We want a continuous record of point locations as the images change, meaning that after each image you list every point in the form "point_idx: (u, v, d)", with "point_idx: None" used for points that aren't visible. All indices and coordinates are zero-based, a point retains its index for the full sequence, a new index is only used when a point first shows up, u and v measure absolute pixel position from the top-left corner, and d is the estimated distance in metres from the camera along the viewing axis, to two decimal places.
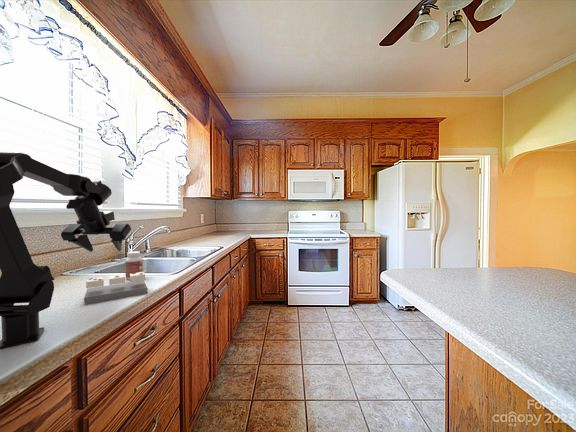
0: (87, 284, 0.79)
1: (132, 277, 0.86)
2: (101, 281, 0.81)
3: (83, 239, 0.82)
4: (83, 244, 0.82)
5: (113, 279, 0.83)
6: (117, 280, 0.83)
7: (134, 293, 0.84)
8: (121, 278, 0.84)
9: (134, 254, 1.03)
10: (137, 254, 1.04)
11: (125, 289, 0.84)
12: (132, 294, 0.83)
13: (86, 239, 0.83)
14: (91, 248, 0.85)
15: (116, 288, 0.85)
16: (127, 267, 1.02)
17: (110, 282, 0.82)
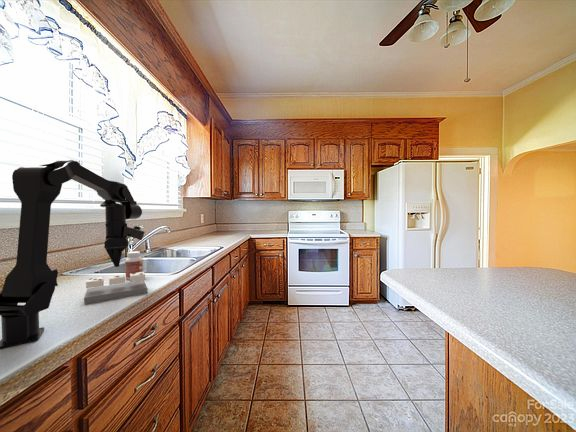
0: (87, 284, 0.79)
1: (132, 277, 0.86)
2: (101, 281, 0.81)
3: None
4: None
5: (113, 279, 0.83)
6: (117, 280, 0.83)
7: (134, 293, 0.84)
8: (121, 278, 0.84)
9: (134, 254, 1.03)
10: (137, 254, 1.04)
11: (125, 289, 0.84)
12: (132, 294, 0.83)
13: None
14: None
15: (116, 288, 0.85)
16: (127, 267, 1.02)
17: (110, 282, 0.82)
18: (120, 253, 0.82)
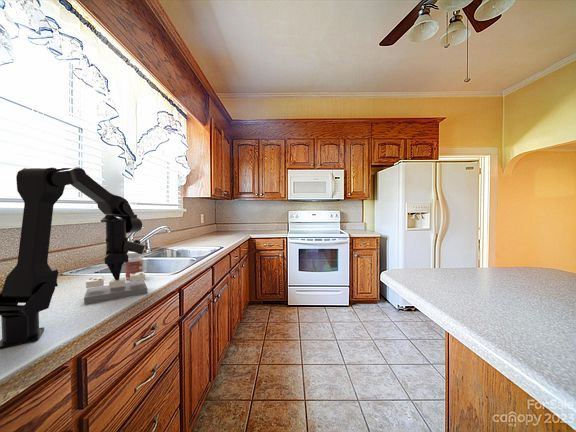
0: (87, 284, 0.79)
1: (132, 277, 0.86)
2: (101, 281, 0.81)
3: None
4: None
5: (113, 282, 0.83)
6: (117, 283, 0.83)
7: (134, 293, 0.84)
8: (121, 281, 0.84)
9: (134, 254, 1.03)
10: (137, 254, 1.04)
11: (125, 289, 0.84)
12: (132, 294, 0.83)
13: None
14: None
15: (116, 288, 0.85)
16: (127, 267, 1.02)
17: (110, 285, 0.82)
18: (120, 266, 0.84)
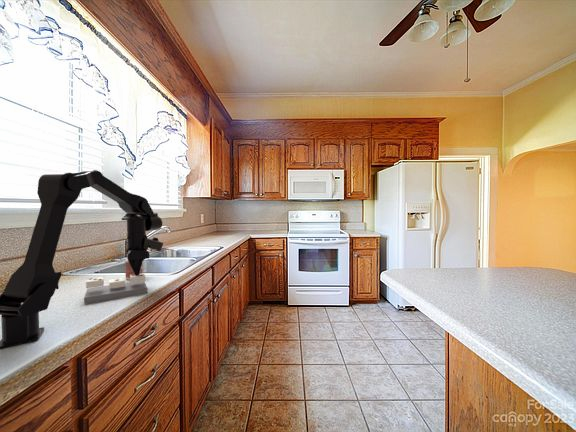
0: (87, 284, 0.79)
1: (132, 278, 0.86)
2: (101, 281, 0.81)
3: None
4: None
5: (113, 283, 0.83)
6: (117, 284, 0.83)
7: (134, 293, 0.84)
8: (121, 282, 0.84)
9: None
10: None
11: (125, 289, 0.84)
12: (132, 294, 0.83)
13: None
14: None
15: (116, 288, 0.85)
16: (127, 267, 1.02)
17: (110, 286, 0.82)
18: (140, 263, 0.88)
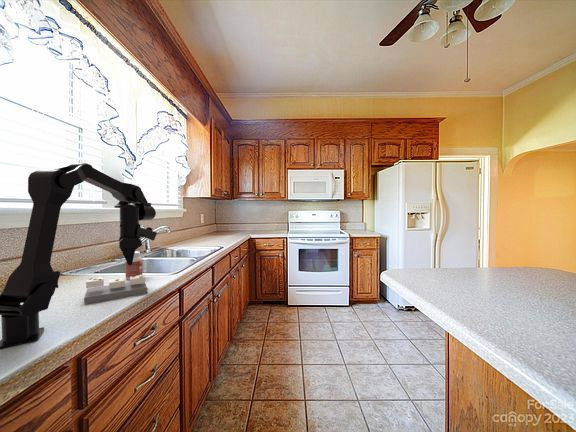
0: (87, 284, 0.79)
1: (132, 280, 0.86)
2: (101, 281, 0.81)
3: None
4: None
5: (113, 283, 0.83)
6: (117, 284, 0.83)
7: (134, 293, 0.84)
8: (121, 282, 0.84)
9: (134, 254, 1.03)
10: (137, 254, 1.04)
11: (125, 289, 0.84)
12: (132, 294, 0.83)
13: None
14: None
15: (116, 288, 0.85)
16: (127, 267, 1.02)
17: (110, 286, 0.82)
18: (133, 252, 0.86)
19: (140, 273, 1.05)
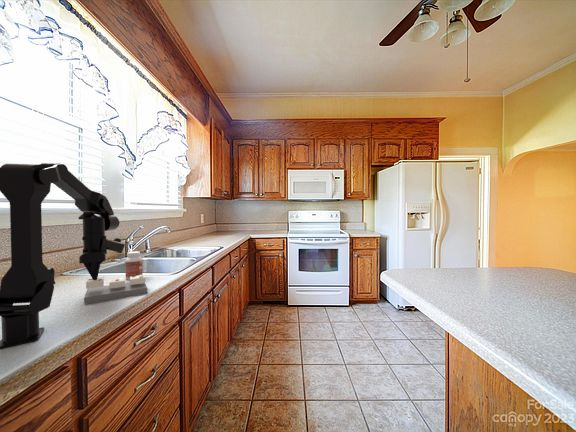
0: (87, 284, 0.79)
1: (132, 280, 0.86)
2: (101, 281, 0.81)
3: None
4: None
5: (113, 283, 0.83)
6: (117, 284, 0.83)
7: (134, 293, 0.84)
8: (121, 282, 0.84)
9: (134, 254, 1.03)
10: (137, 254, 1.04)
11: (125, 289, 0.84)
12: (132, 294, 0.83)
13: None
14: None
15: (116, 288, 0.85)
16: (127, 267, 1.02)
17: (110, 286, 0.82)
18: (98, 266, 0.81)
19: (140, 273, 1.05)
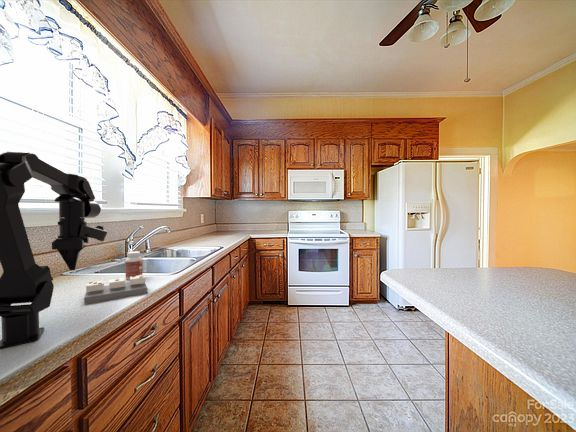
0: (87, 288, 0.79)
1: (132, 280, 0.86)
2: (101, 285, 0.81)
3: None
4: None
5: (113, 283, 0.83)
6: (117, 284, 0.83)
7: (134, 293, 0.84)
8: (121, 282, 0.84)
9: (134, 254, 1.03)
10: (137, 254, 1.04)
11: (125, 289, 0.84)
12: (132, 294, 0.83)
13: None
14: None
15: (116, 288, 0.85)
16: (127, 267, 1.02)
17: (110, 286, 0.82)
18: (76, 255, 0.72)
19: (140, 273, 1.05)
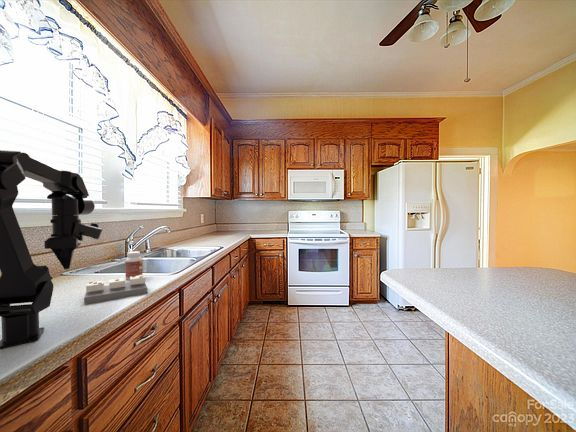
0: (87, 288, 0.79)
1: (132, 280, 0.86)
2: (101, 285, 0.81)
3: None
4: None
5: (113, 283, 0.83)
6: (117, 284, 0.83)
7: (134, 293, 0.84)
8: (121, 282, 0.84)
9: (134, 254, 1.03)
10: (137, 254, 1.04)
11: (125, 289, 0.84)
12: (132, 294, 0.83)
13: None
14: None
15: (116, 288, 0.85)
16: (127, 267, 1.02)
17: (110, 286, 0.82)
18: (70, 253, 0.71)
19: (140, 273, 1.05)
